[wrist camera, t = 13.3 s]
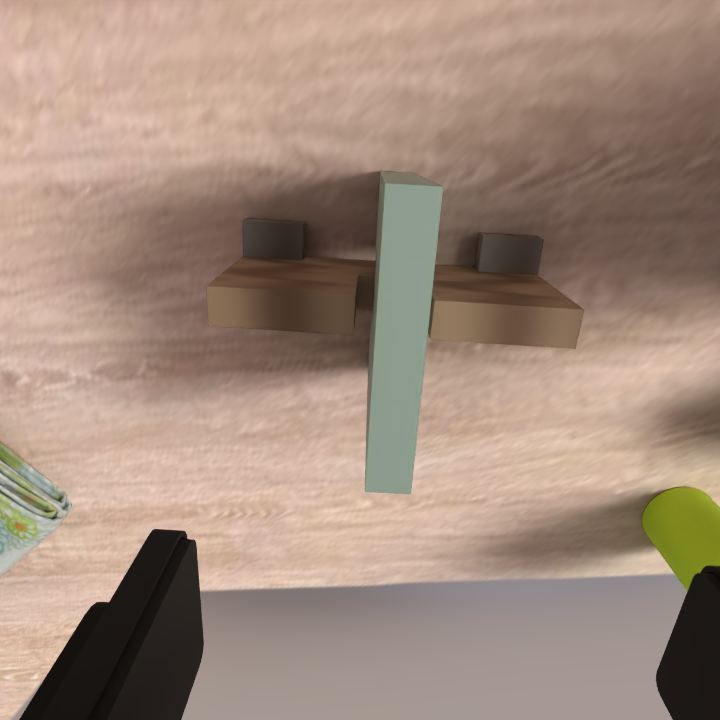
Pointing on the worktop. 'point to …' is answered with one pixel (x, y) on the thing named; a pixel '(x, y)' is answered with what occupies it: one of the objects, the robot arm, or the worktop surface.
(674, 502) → the soap dispenser
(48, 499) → the towel
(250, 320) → the walnut slotted board
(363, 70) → the worktop surface
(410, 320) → the sage slotted plate
